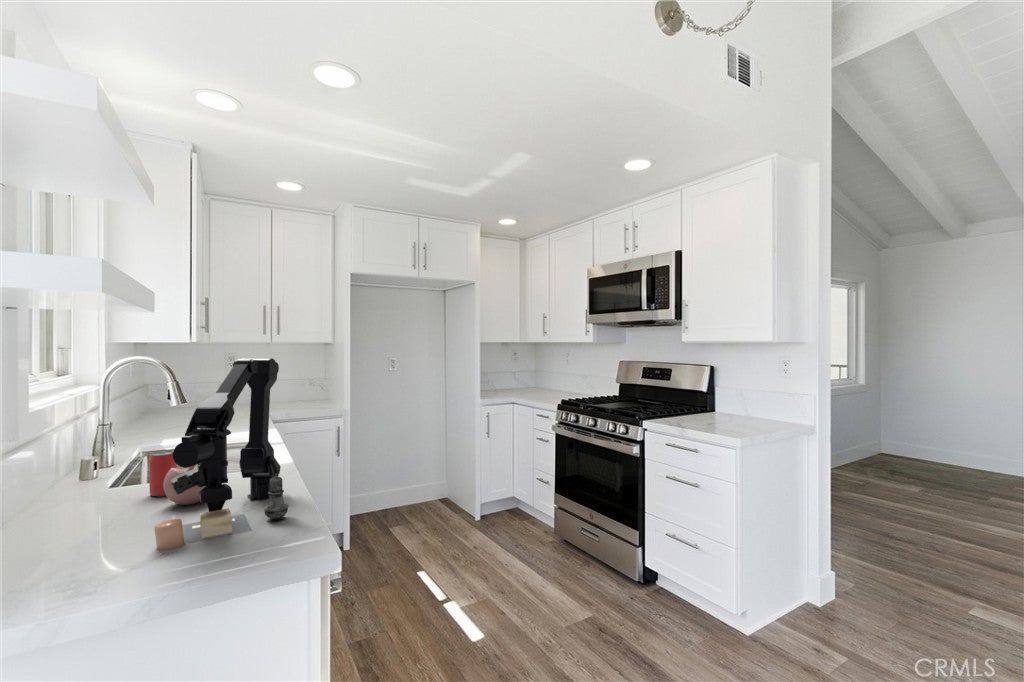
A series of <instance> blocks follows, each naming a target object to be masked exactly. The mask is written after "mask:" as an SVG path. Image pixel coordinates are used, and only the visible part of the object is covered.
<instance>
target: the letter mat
mask: <svg viewBox="0 0 1024 682" xmlns="http://www.w3.org/2000/svg"><path fill="white" fill-rule="evenodd" d="M182 527H183V535H184V544H183V545H187V544H192V543H197V542H202V541H206V540H207V541H208V540H211V539H217V538H222V537H227V536H232V535H238V534H243V533H246V532H251V531H253V529H252V527H251V525H250V523H249V520H248V518H247V516H246V514H245V513H241V514H240V513H239V514H235V515H232V533H228V534H223V535H218V536H213V537H207V538H202V537H201V531H200V521H196V522H190V523H185V524H182Z"/></svg>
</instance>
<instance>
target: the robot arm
mask: <svg viewBox="0 0 1024 682" xmlns="http://www.w3.org/2000/svg"><path fill="white" fill-rule="evenodd" d="M279 370H280V367H279V363H278V362H276V360H275V359H274V358H271V357H270V358H267V357H266V358H265V357H264V358H263V357H262V358H238V359H235V360H234V361H233V364H232V368H231V370H230V371H229V372H228V374H227V375H226V377H225V378H224V380H223V381H222V383H220V385H219V387H218V388H217V390H216V392H215V393H214V394H213V395H212V396H209V397H208V398H206V399H204V400H203V401H202V402H201V403H200V404H199V405H198V406H197V407H196V408H195V410H194V412H193V414H192V417H191V418H190V420H189V422H188V423H189V424H188V426H187V428H186V430H185V433H184V436H181V442H180V443H178V444H177V445H176V446H175V448H174V449H173V459H174V462H175V463H176V464H177V466H178V467H180V468H185V469H187V468H189V467H191V466H194V465H196V464H197V465H196V466H197V467H195V468H194V469H193V470H190V471H187V470H186V471H187V472H185V473H183V474H181V475H178V476H176V477H174V478H172V479H171V484H172V486H173V488H174V490H175V492H176V494H177V495H178V494H181V493H183V492H184V491H186V490H188V489H190V488H192V487H194V486H196V485H197V487H203V489H202V490H201V491H199V495H200V496H199V497H200V501H199V502H200V504H207V509H208V512H210V511H216V510H222V509H224V506H225V504H226V501H228V500H231V499H233V490H232V487H231V486H230V485H229V484H228V483H229V478H228V466H229V461H228V455H227V454H228V447H227V445H228V444H227V443H228V442H227V441H228V440H227V436H230V435H231V434H232V431H230V429H228V427H229V425H230V424H231V423H232V420H233V419H234V418H233V417H234V415H235V409H234V405H235V403H236V401H237V399H239V396H240V394H241V393H242V391H244V389H245V387H246V385H248V387H249V388H250V406H249V409H250V410H249V428H248V429H249V430H248V441H247V443H246V445H245V446H244V448H243V447H242V448H241V449H240V453H239V455H240V457H239V463H238V464H239V468H240V474H241V476H242V479H245V478H248V479H249V488H250V489H249V490H250V491H249V494H247V498H248V499H249V501H250V502H257V501H262V500H267V499H269V500H270V494H268V492H269V491H270V479H271V478H273V477H275V474H277V476H278V477H280V476H279V474H280V473H281V465H280V463H279V462H278V461H277V459H276V457H275V450H274V447H273V446H272V444H271V443H270V441H269V424H270V420H269V419H270V404H271V403H270V401H271V400H270V398H271V389H272V387H274V384H275V383H276V382H277V379H278V373H279Z"/></svg>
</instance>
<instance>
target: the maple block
mask: <svg viewBox="0 0 1024 682" xmlns="http://www.w3.org/2000/svg"><path fill="white" fill-rule="evenodd" d="M232 516H233V515H232V512H231V508H222V510H216V511H210V512H209V511H206V512H200V513H199V518H200V519H199V520H200V521H199V522H200V531H201V537H202V538H207V537H213V536H218V535H223V534H228V533H232Z"/></svg>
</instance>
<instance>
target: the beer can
mask: <svg viewBox="0 0 1024 682" xmlns="http://www.w3.org/2000/svg"><path fill="white" fill-rule="evenodd" d="M173 452H174V450H163V451H156V452H153V453H151V456H150V458H149V462H148V469H149V470H148V471H149V472H148V473H149V475H148V476H149V481H148V482H149V495H150V496H151V497H154V496H161V497H167V496H166V494H165V491H164V486H163V485H164V479H165V477H166V475H167V473H168V472H169V470H170V469H171V468H177V469H178V467H177V466H178V465H177V464H176V463H175V462H174V459H173Z"/></svg>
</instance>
